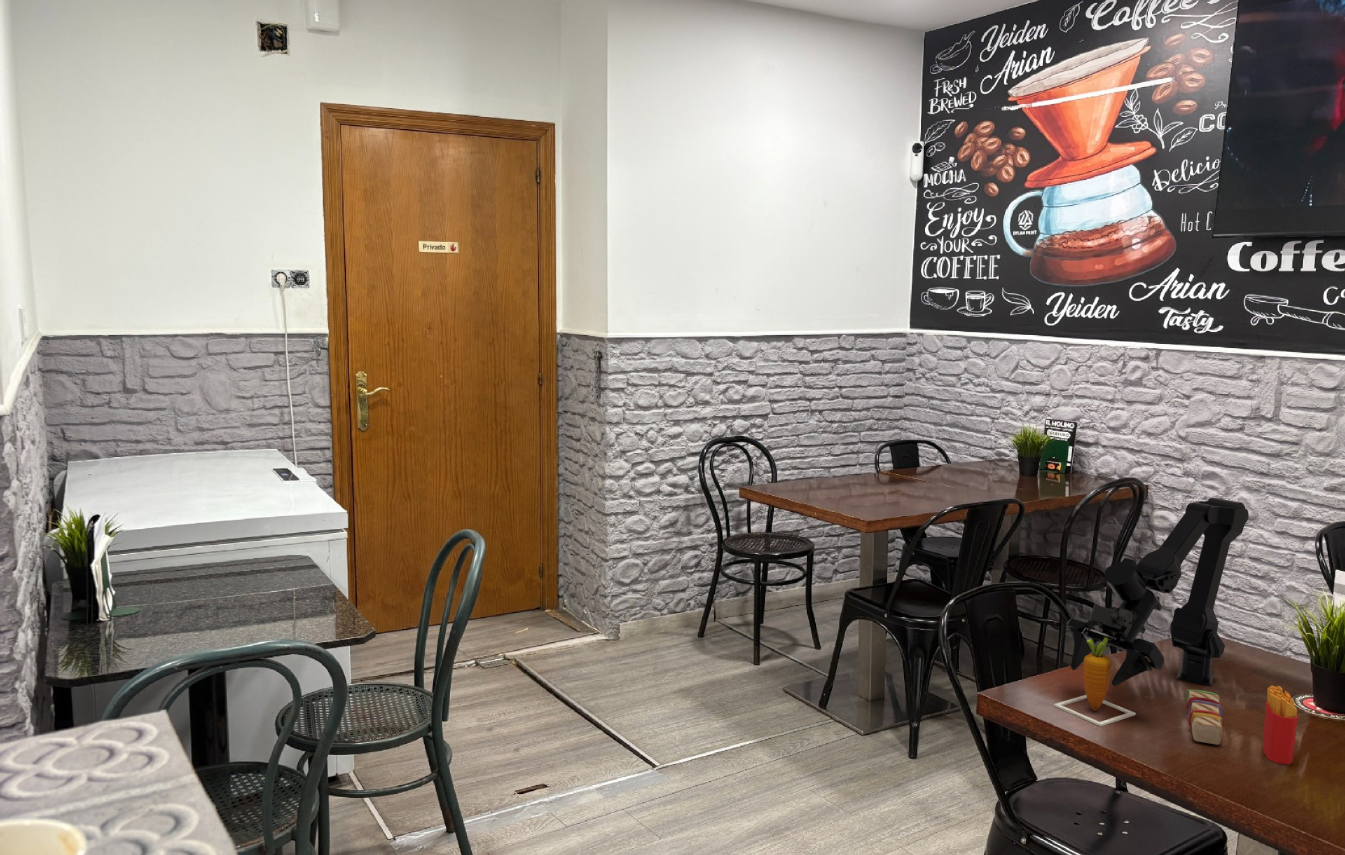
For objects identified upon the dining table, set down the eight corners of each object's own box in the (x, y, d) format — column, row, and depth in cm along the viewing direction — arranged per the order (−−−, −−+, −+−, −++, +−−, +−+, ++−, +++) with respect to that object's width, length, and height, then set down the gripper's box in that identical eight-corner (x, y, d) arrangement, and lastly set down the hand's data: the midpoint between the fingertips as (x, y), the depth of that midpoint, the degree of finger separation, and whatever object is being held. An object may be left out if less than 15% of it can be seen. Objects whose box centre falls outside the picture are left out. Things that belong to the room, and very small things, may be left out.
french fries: (1296, 767, 167) (1302, 702, 166) (1270, 764, 168) (1276, 699, 167) (1282, 746, 175) (1288, 683, 174) (1257, 743, 176) (1263, 680, 175)
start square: (1088, 695, 197) (1088, 693, 197) (1135, 715, 188) (1135, 713, 188) (1053, 706, 192) (1054, 704, 192) (1100, 726, 183) (1100, 724, 183)
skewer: (1227, 750, 174) (1229, 724, 173) (1187, 743, 177) (1189, 717, 176) (1219, 707, 192) (1221, 684, 192) (1183, 701, 195) (1185, 678, 194)
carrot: (1079, 712, 189) (1084, 639, 187) (1081, 703, 193) (1086, 631, 191) (1107, 718, 187) (1112, 643, 185) (1108, 708, 191) (1113, 636, 189)
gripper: (1075, 578, 197) (1035, 639, 193) (1159, 603, 181) (1118, 670, 177) (1097, 609, 202) (1059, 669, 198) (1181, 636, 186) (1141, 702, 182)
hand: (1092, 676), depth 188 cm, fingers open, 9 cm apart
